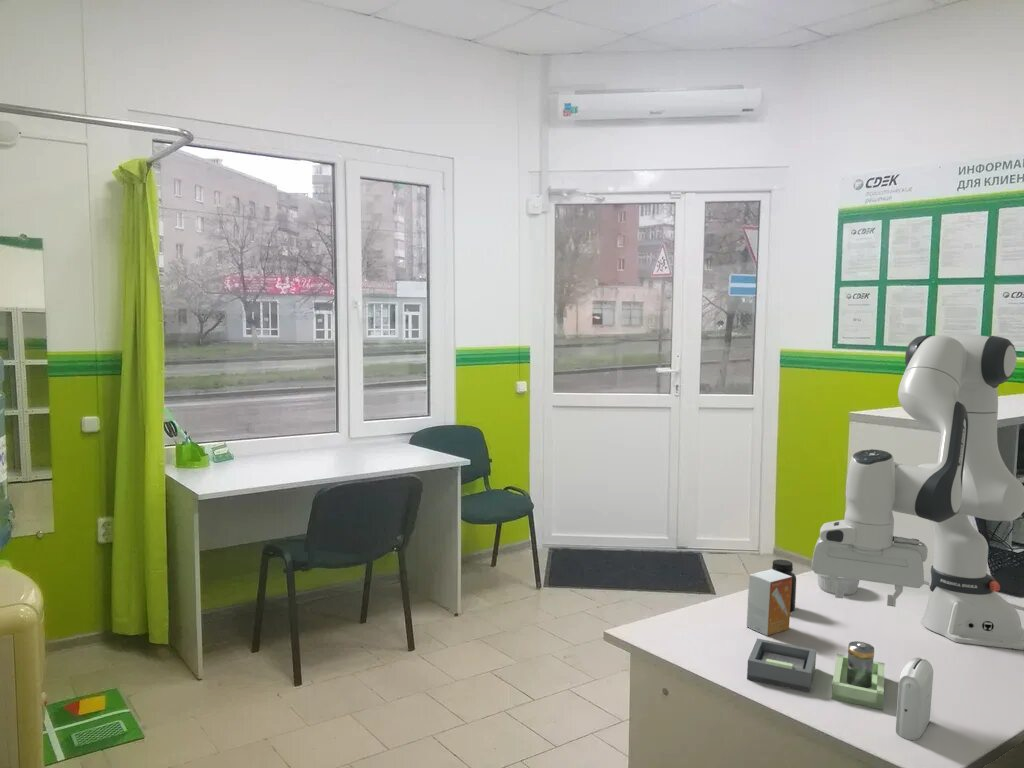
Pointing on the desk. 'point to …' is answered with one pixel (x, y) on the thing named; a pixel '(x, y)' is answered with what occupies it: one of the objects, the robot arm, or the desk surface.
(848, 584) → the ramekin
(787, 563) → the supplement bottle
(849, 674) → the grey cell
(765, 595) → the small box
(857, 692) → the green trough
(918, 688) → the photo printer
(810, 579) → the desk surface
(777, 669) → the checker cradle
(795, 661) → the pan
